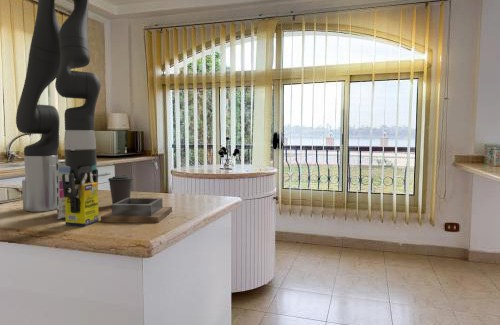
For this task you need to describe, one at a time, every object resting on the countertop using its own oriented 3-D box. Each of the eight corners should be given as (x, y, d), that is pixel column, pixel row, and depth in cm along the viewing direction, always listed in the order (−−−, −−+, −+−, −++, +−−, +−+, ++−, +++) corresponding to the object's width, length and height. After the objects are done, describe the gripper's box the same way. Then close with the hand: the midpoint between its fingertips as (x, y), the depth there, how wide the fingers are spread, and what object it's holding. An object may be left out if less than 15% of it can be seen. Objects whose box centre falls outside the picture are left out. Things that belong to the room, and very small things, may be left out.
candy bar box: (77, 218, 98) (75, 161, 97) (57, 220, 96) (55, 161, 95) (79, 211, 108) (77, 158, 107) (61, 212, 106) (59, 159, 105)
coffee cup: (133, 202, 123) (133, 174, 122) (133, 206, 115) (133, 177, 115) (109, 203, 120) (108, 175, 120) (107, 208, 113) (106, 177, 112)
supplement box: (85, 226, 89) (83, 185, 89) (65, 225, 91) (63, 184, 90) (99, 221, 95) (98, 182, 94) (80, 220, 96) (79, 181, 96)
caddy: (100, 221, 95) (100, 205, 94) (121, 210, 109) (121, 196, 108) (158, 222, 94) (158, 206, 94) (171, 211, 108) (171, 197, 108)
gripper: (81, 146, 99) (82, 204, 100) (49, 148, 84) (52, 215, 86) (106, 147, 98) (108, 204, 100) (79, 148, 84) (82, 216, 85)
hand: (82, 209), depth 93 cm, fingers closed on supplement box, 6 cm apart
